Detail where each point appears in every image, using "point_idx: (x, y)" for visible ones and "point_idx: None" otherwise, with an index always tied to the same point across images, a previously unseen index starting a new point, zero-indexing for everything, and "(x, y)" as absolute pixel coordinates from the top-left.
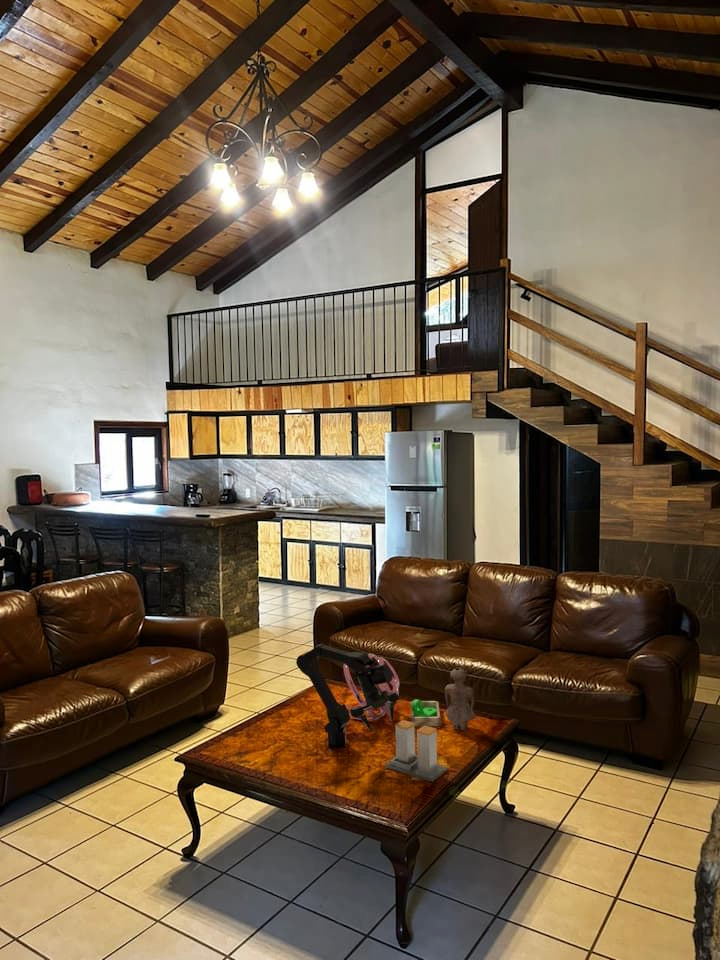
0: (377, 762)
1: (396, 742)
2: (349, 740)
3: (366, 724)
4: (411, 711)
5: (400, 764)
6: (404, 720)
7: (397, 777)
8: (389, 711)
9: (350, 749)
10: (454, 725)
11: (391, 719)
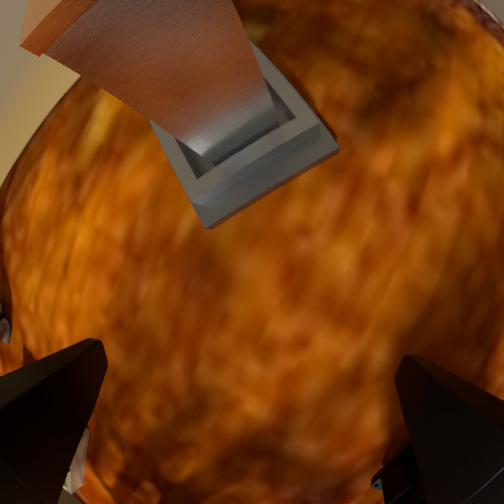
0: (356, 226)
1: (248, 43)
2: (351, 481)
3: (495, 396)
4: (70, 467)
5: (276, 70)
6: (23, 30)
7: (318, 54)
8: (33, 446)
9: (400, 419)
10: (3, 329)
11: (88, 363)
